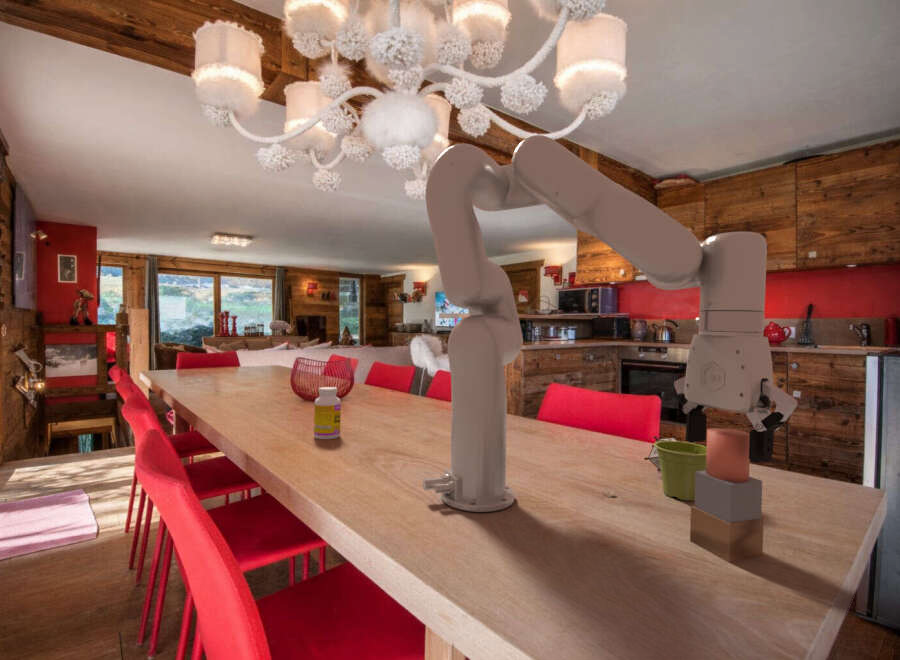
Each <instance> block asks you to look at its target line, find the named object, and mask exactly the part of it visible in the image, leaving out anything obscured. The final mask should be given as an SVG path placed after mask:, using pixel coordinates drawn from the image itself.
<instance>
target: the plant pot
mask: <svg viewBox="0 0 900 660" xmlns="http://www.w3.org/2000/svg"><path fill="white" fill-rule="evenodd" d="M680 441H681V440H677V441H660V442H656V443H655V442H654V443H655V444H654V443H653V445H654V446H655V448H657V454H658V456H659V460H660V467H661V471H660V473H661V481H662V482H661V483H662V489H663V493H664V494H665V495H667V496H668V497H671V498H672V497H675V498H677V499H679V501H680V500H681V501H691V502H695V471H703V470H706V452H707V446H705V445H702V444H698V443H695V442H688V441H682V442H680Z"/></svg>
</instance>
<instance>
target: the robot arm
mask: <svg viewBox="0 0 900 660" xmlns="http://www.w3.org/2000/svg"><path fill="white" fill-rule="evenodd" d="M541 205H542V206H543V205H545V206H547V207H548V208H549V209H551V211H553V212H554V213H556V214H557V215H558V216H560V218H562V219H563V220H565V221H566V222H567V223H569V225H571V226H572V227H574V228H575V229H576V230H578V231H579V232H581V233H584V234H588V235H591V236H593V237H595V239H598V240H599V241H601V243H604V244H605V245H607V246H608V247H609V248H611V249H612V250H613V251H614V252H616V253H618V255H620V256H621V257H622V258H624V259H625V260H626V261H627V262H628V263H630V264H631V265H632V266H634V267H635V268H636V269H637V270H639V271H640V272H641V273H643V274H644V276H645V279H646V281H648V282H649V283H650V285H652V286H654V287H656V289H657V288H658V289H660V290H664V291H677V290H683V289H690V288H700V289H699V291H700V292H699V312H698V313H699V314H698V315H699V316H697V317H696V318H695V320H694V323H695V325H696V326H697V327H698V334H697V333H696V334H693V335H692V336H693V337H692V339H691V342H690V346H689V350H688V356H687V360H686V362H687V363H686V370H685V375H684V376H683V377H681V378H678V379H677V380H675V381H674V382H673V386H674V388H675V391H676V394H677V400H678V401H679V404H680V405H681V406H682V411H683V413H684V414H685V415H686V419H685V421H686V422H685V442H688V443H697V442H698V443H699V442H705V441H707V419H708V418H707V414H706V413H703V412H704V411H705V410H706V409H707V408H711V409H716V410H721V411H725V412H729V413H734V414H736V413H737V414H743V413H744V414H745V415H746V417H747V418H748V420H749V422H750V423H751V424H752V426H753V427H754V429H750V431H749V434H750V438H749V460H750V461H749V462H752V463H765V462H766V463H767V462H771V461H772V459H773V458H772V456H773V454H774V440H775V439H774V438H775V437H774V436H775V432H776V431H778V430H780V427H782V426H783V425H784V424H785V423H787V422H788V421H790V416H792V414H793V412H794V411H795V409H796V407H797V406H798V400H797V399H795V398H794V397H793V396H791V395H790V394H788V393H787V392H785V391H784V390H782V389H781V388H779V387H778V386H777V385H774V372H773V371H774V370H773V361H772V360H773V359H772V353H771V347H770V342H769V338H768V336H764V329H765V308H766V307H765V303H766V285H767V283H766V280H767V256H768V255H767V254H768V253H767V252H768V244H767V243H768V242H767V239H766V238H765V236H764V235H763V234H760V233H759V232H754V231H731V232H730V231H729V232H722V233H717V234H714V235H710V236H709V237H707V238H706V239H705V240H701V241H700V240H699V239H698V238H697V236H696V235H695V234H694V233H693V232H692V231H691V230H689V229H688V228H687V227H686V226H684V225H683V224H681V223H680V222H678V221H677V220H676V219H675V218H673V217H672V216H670V215H669V214H668V213H666V212H664V211H663V210H662V209H660V208H659V207H657V206H656V205H654V204H653V203H651V202H650V201H648V200H647V199H645V198H644V197H642V196H640V195H639V194H636V193H634V192H633V191H631V190H629V189H627V188H625V186H622V184H620V183H617V182H615V181H613V179H611V178H609V177H608V176H606V175H605V174H604V173H602V172H600V171H599V170H598V169H596V168H595V167H593V166H591V165H590V164H589V163H587V162H586V161H584V159H582V158H580V156H578V155H576V154H575V153H574V152H573V151H571V150H569V149H568V148H567V147H565V146H564V145H562V144H561V143H560V142H558V141H556V140H554V139H553V138H551V137H549V136H546V135H542V134H538V135H537V134H534V135H530V136H529V137H526V138H525V139H523V140H522V141H520V143H519V144H518V145H517V147H516V148H515V149H514V152H513V154H512V158H511V164H505V165H500V164H499V163H498V162H496V161H495V159H493V157H491V156H490V155H489V154H488V153H487V152H486V151H484V150H483V149H482V148H480V147H478V146H475V145H473V144H471V143H456V144H453V145H451V146H449V147H448V148H446V149H445V150H444V151H443V152H442V153H441V154H440V155H439V156H438V157H437V158H436V160H435V161H434V163H433V164H432V166H431V169H430V171H429V174H428V177H427V180H426V185H425V206H426V212H427V216H428V217H427V218H428V221H429V225H430V229H431V234H432V238H433V243H434V250H435V254H436V259H437V265H438V269H439V270H438V271H439V275H440V279H441V280H440V281H441V284H442V289H443V292H444V296H445V297H446V299H447V301H448V302H449V303H451V305H453V306H454V307H457V308H461V309H464V310H468V313H469V316H466V317H464V318H462V319H461V320H458V322H457V323H456V324H455V325H454V326H453V327H452V329H451V331H450V333H449V335H448V336H449V337H448V339H447V357H448V363H449V372H450V382H451V383H450V385H451V386H450V388H451V395H450V397H451V401H450V403H451V404H450V405H451V406H450V407H451V425H450V426H451V427H450V429H451V431H450V468H446V469H445V471H444V473H445V474H441V475H440V477H424V478H423V479H422V487H423V490H424V491H428V490H429V491H430V490H434V493H435V494H440V497H441V500H442V501H443V502H444V503H445V504H446V505H447V506H450V507H451V508H454V509H457V510H461V511H464V512H465V511H466V512H475V513H490V512H497V511H500V510H501V511H502V510H504V509H506V508H509V507H510V506H512V505H513V504H514V501H515V492H514V490H513V489H512V488H511V487H509V486H508V485H506V475H507V474H506V473H507V471H506V470H507V469H506V468H507V423H508V422H507V419H508V417H507V416H508V415H507V414H508V411H507V410H508V407H507V403H508V401H507V399H508V398H507V397H508V396H507V395H508V394H507V393H508V392H507V382H506V381H507V380H506V376H505V375H506V374H505V366H507V365H509V364H511V363H513V361H515V360H516V359H517V358H518V356H519V355H520V353H521V351H522V348H523V347H522V346H523V333H522V331H523V330H522V326H521V323H520V318H519V313H518V309H517V305H516V300H515V296H514V291H513V287H512V284H511V281H510V278H509V276H508V274H507V273H506V272H505V269H503V268H502V267H501V266H500V265H498V264H497V263H495V262H493V261H491V260H489V258H488V256H487V252H486V248H485V244H484V240H483V234H482V229H481V226H480V223H479V221H478V218H477V215H476V213H475V209H474V207H475V208H477V209H479V210H481V211H485V212H502V211H507V210H509V211H510V210H515V209H523V208H524V209H525V208H530V207H538V206H541ZM773 402H775V404H776V406H775V410H774V411H773V412H771V408H772V406H773Z"/></svg>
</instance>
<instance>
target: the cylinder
mask: <svg viewBox="0 0 900 660" xmlns="http://www.w3.org/2000/svg"><path fill="white" fill-rule="evenodd" d="M749 438H750V432H747V431H745V430H744V431H743V430H739V429H734V428H726V427H711V428H710V427H709V428H706V447H707V452H706V474H707V475H709V476H711V477H713V478H716V479H720V480H724V481H731V482H746V481H749V477H750V462H751V461H750V460H749Z"/></svg>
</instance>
